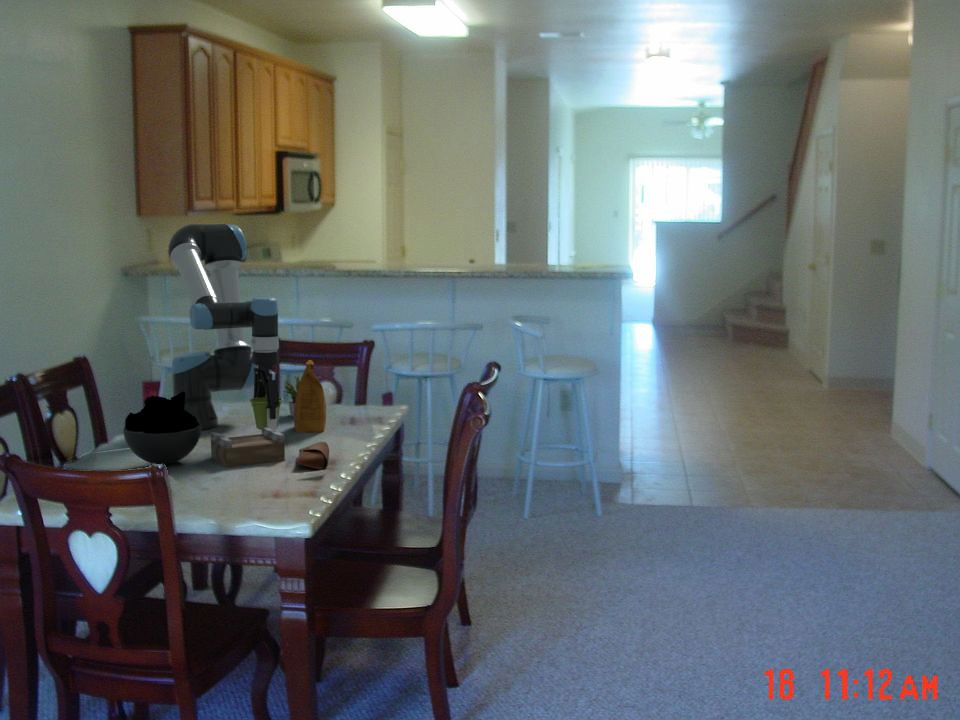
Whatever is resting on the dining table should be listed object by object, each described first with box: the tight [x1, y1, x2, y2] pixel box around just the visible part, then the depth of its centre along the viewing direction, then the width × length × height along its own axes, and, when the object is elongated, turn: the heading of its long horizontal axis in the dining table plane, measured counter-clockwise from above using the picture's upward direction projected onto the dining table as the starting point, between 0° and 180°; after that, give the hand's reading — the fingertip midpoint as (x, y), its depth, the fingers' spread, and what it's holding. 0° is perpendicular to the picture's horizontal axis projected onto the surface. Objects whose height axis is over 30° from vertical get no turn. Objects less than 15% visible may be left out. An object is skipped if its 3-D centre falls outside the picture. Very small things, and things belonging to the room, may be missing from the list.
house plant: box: [281, 373, 320, 418], centre depth 334 cm, size 14×14×16 cm
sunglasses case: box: [295, 441, 330, 470], centre depth 272 cm, size 18×7×7 cm
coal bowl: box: [122, 392, 202, 465], centre depth 270 cm, size 20×20×19 cm
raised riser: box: [210, 427, 286, 468], centre depth 277 cm, size 14×16×7 cm
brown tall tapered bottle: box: [293, 359, 327, 434], centre depth 315 cm, size 10×12×22 cm
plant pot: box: [249, 396, 284, 431], centre depth 298 cm, size 9×9×9 cm
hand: (266, 427), depth 298 cm, fingers closed on plant pot, 8 cm apart
